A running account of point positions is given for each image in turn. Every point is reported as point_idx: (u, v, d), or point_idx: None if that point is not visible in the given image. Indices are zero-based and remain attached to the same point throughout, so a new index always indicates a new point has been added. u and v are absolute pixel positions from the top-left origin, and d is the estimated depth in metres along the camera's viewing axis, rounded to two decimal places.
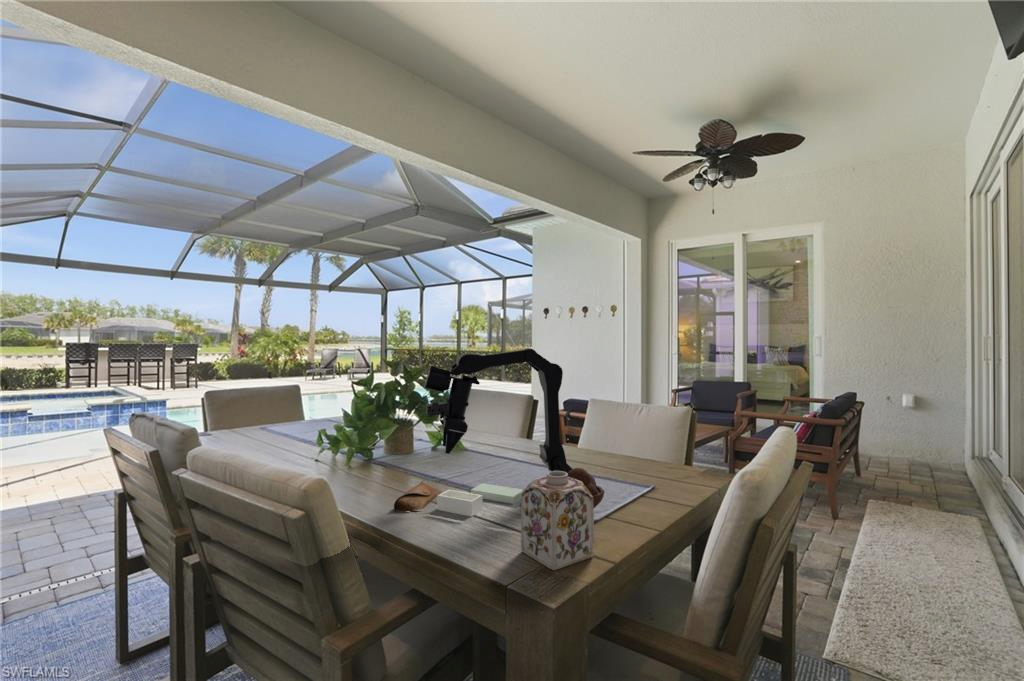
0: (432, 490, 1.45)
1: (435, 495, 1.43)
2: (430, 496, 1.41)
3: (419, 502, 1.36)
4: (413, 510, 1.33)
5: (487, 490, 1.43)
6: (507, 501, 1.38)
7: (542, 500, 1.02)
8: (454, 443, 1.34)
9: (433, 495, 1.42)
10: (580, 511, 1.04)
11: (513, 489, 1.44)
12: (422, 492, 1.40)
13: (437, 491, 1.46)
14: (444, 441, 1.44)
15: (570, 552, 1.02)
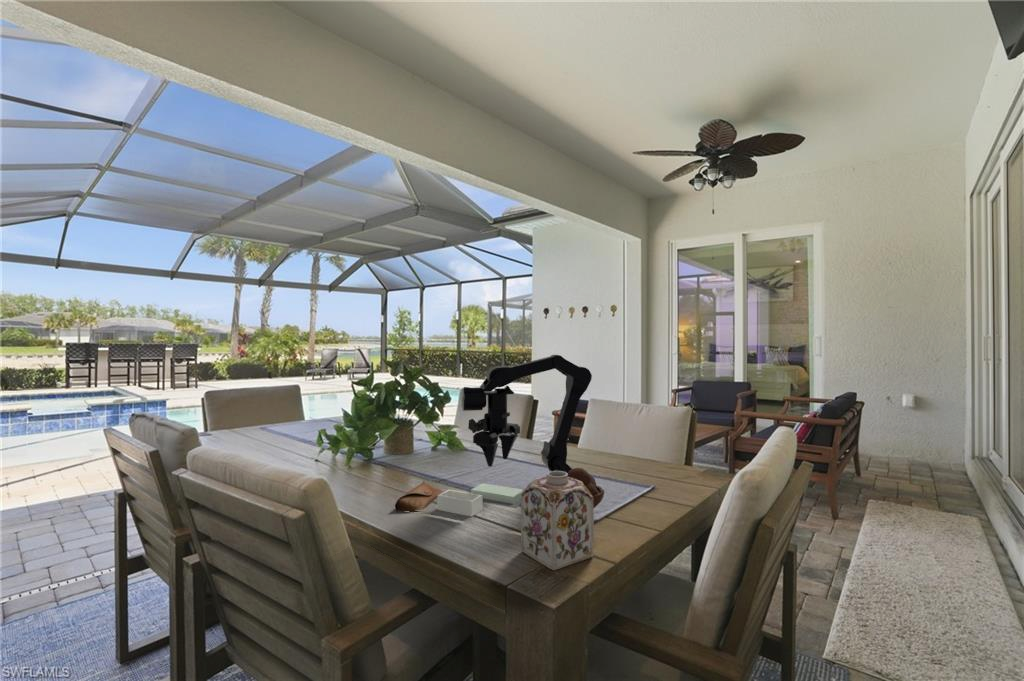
0: (433, 490, 1.45)
1: (436, 495, 1.43)
2: (431, 496, 1.41)
3: (420, 502, 1.35)
4: (414, 510, 1.33)
5: (487, 490, 1.43)
6: (507, 501, 1.38)
7: (542, 500, 1.02)
8: (491, 456, 1.38)
9: (434, 495, 1.42)
10: (580, 511, 1.04)
11: (513, 489, 1.44)
12: (423, 492, 1.40)
13: (438, 491, 1.46)
14: (503, 454, 1.47)
15: (570, 552, 1.02)
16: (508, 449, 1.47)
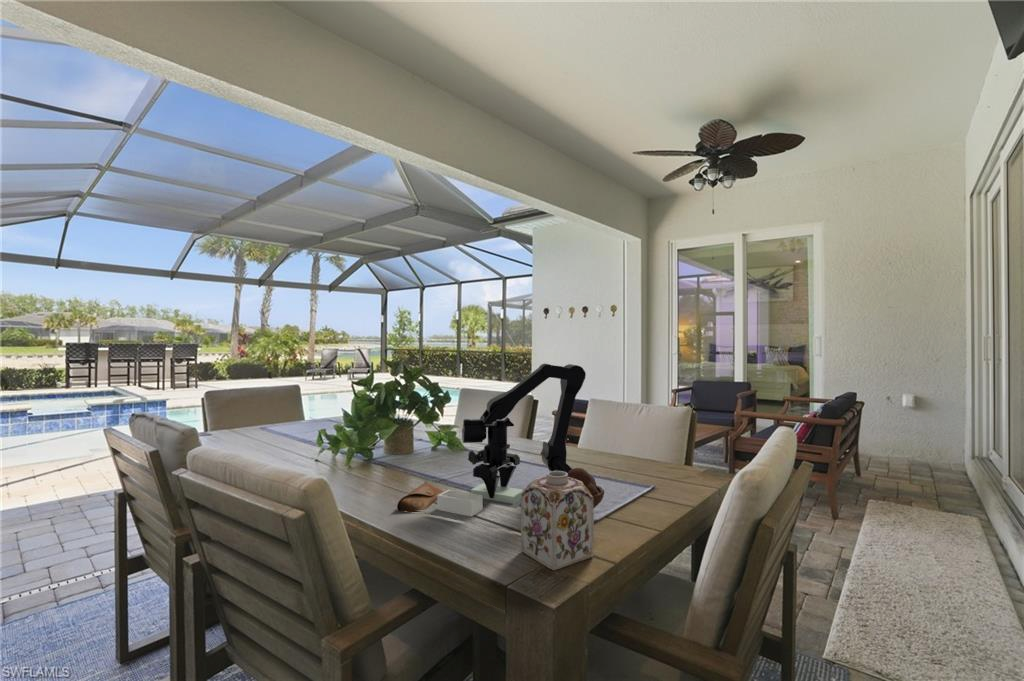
0: (435, 490, 1.44)
1: None
2: (433, 497, 1.40)
3: (422, 502, 1.35)
4: (416, 511, 1.32)
5: None
6: (507, 501, 1.38)
7: (542, 500, 1.02)
8: (493, 488, 1.39)
9: (436, 496, 1.42)
10: (580, 511, 1.04)
11: (513, 489, 1.44)
12: (425, 492, 1.40)
13: (441, 492, 1.45)
14: None
15: (570, 552, 1.02)
16: (506, 481, 1.46)
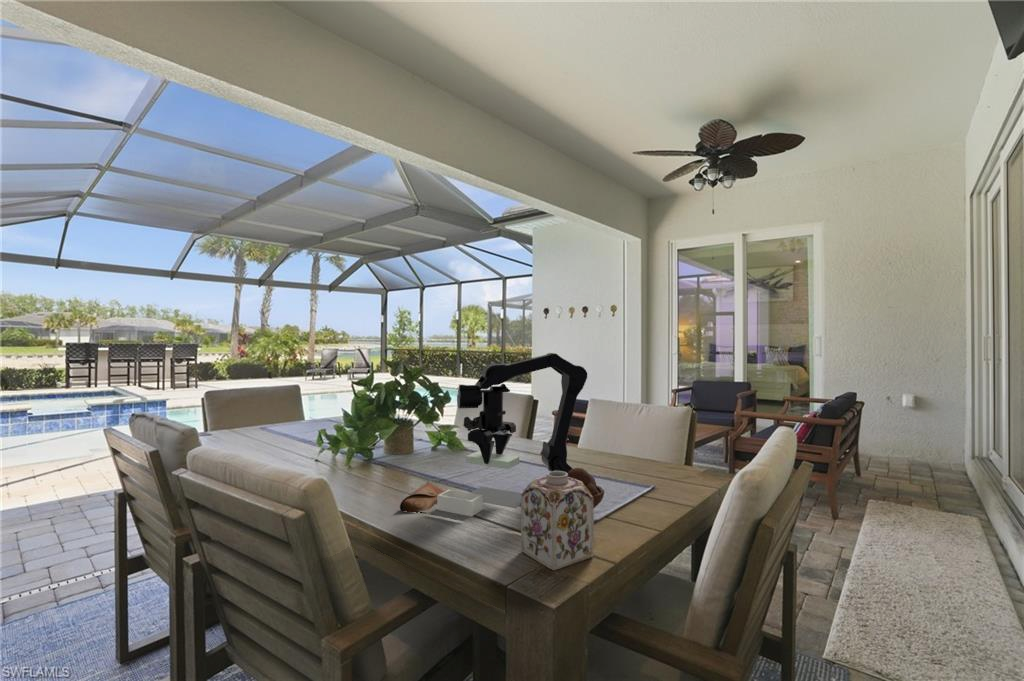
0: (438, 491, 1.44)
1: None
2: (436, 497, 1.40)
3: (425, 503, 1.35)
4: (419, 511, 1.32)
5: None
6: (502, 467, 1.37)
7: (542, 500, 1.02)
8: (487, 453, 1.37)
9: None
10: (580, 511, 1.04)
11: (508, 456, 1.42)
12: (428, 493, 1.40)
13: None
14: (497, 453, 1.45)
15: (570, 552, 1.02)
16: (502, 448, 1.45)
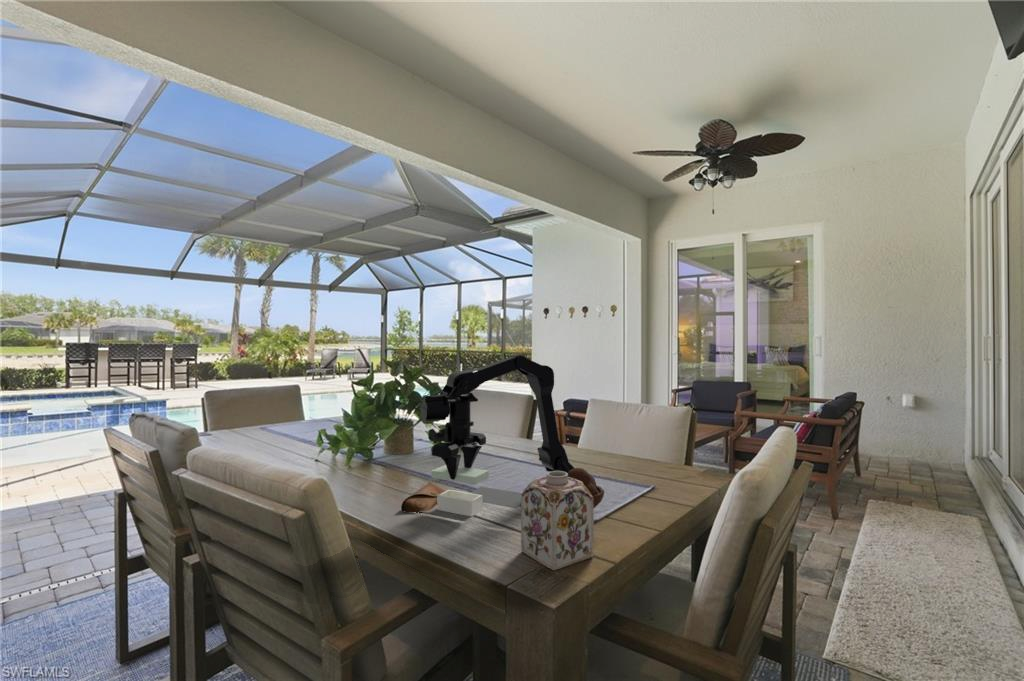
0: (440, 491, 1.44)
1: None
2: None
3: (427, 503, 1.35)
4: None
5: None
6: (469, 482, 1.27)
7: (542, 500, 1.02)
8: (453, 468, 1.28)
9: None
10: (580, 511, 1.04)
11: (477, 470, 1.33)
12: (430, 493, 1.39)
13: None
14: None
15: (570, 552, 1.02)
16: (470, 462, 1.35)
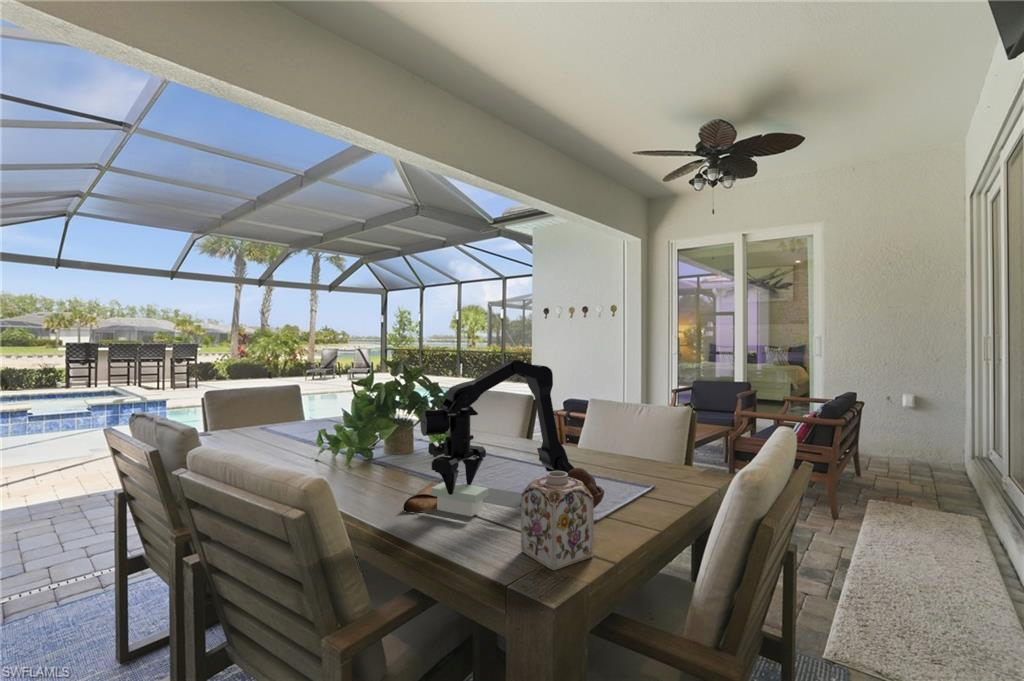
0: None
1: None
2: None
3: (429, 503, 1.35)
4: None
5: None
6: (469, 500, 1.28)
7: (542, 500, 1.02)
8: (451, 483, 1.27)
9: None
10: (580, 511, 1.04)
11: (477, 487, 1.33)
12: None
13: None
14: (467, 480, 1.37)
15: (570, 552, 1.02)
16: (472, 474, 1.36)
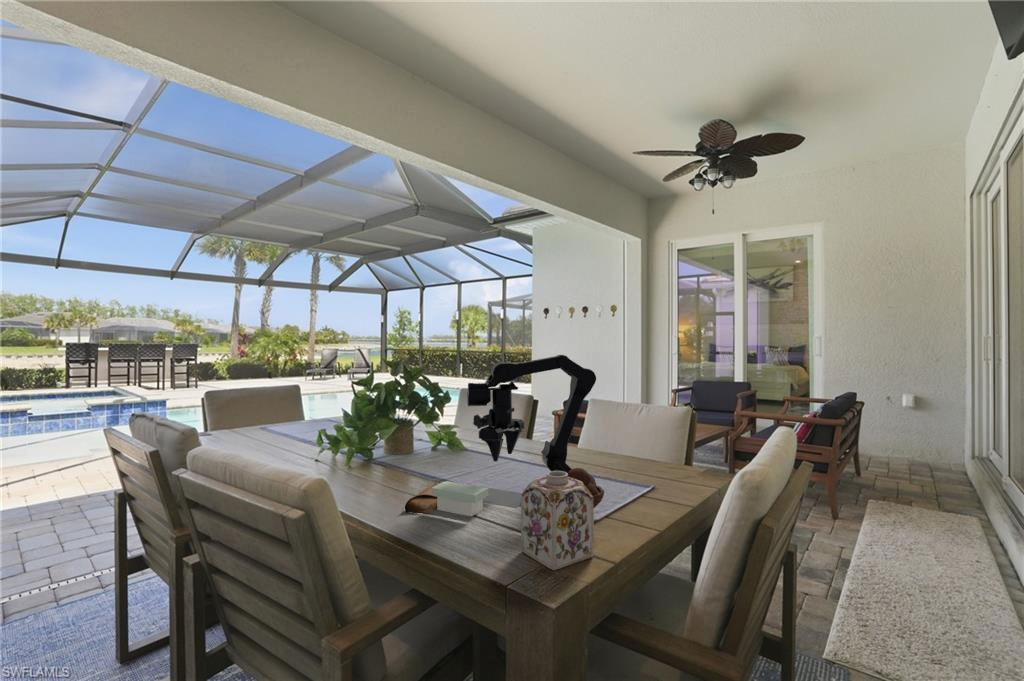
0: None
1: None
2: None
3: (430, 504, 1.34)
4: (424, 512, 1.31)
5: (448, 488, 1.32)
6: (469, 500, 1.28)
7: (542, 500, 1.02)
8: (497, 451, 1.39)
9: None
10: (580, 511, 1.04)
11: (477, 487, 1.33)
12: None
13: None
14: (508, 449, 1.49)
15: (570, 552, 1.02)
16: (513, 444, 1.48)
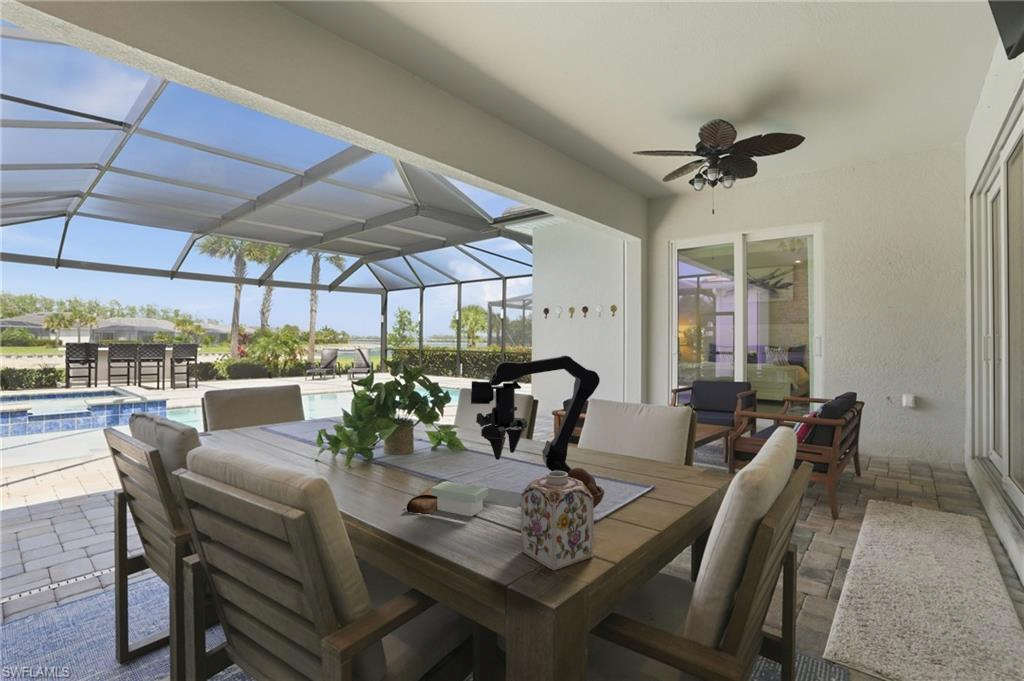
0: None
1: None
2: None
3: (432, 504, 1.34)
4: None
5: (448, 488, 1.32)
6: (469, 500, 1.28)
7: (542, 500, 1.02)
8: (499, 449, 1.40)
9: None
10: (580, 511, 1.04)
11: (477, 487, 1.33)
12: None
13: None
14: (510, 448, 1.50)
15: (570, 552, 1.02)
16: (515, 443, 1.49)
